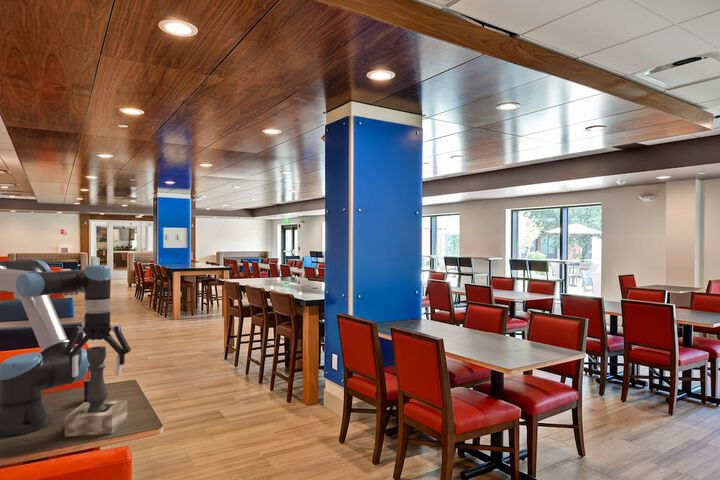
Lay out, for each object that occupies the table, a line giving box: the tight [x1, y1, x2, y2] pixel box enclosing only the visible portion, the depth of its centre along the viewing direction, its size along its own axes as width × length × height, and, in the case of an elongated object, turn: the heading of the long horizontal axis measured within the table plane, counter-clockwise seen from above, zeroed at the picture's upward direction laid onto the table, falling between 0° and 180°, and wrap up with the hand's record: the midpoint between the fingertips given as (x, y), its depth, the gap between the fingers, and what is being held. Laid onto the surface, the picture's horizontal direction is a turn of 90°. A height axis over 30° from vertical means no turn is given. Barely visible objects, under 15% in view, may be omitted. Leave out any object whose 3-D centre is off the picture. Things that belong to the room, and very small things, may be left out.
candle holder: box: [86, 345, 108, 413], centre depth 155 cm, size 6×6×25 cm
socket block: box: [64, 399, 128, 437], centre depth 155 cm, size 14×14×6 cm
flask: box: [83, 377, 90, 403], centre depth 180 cm, size 9×3×11 cm, turn 1°
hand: (97, 375), depth 155 cm, fingers open, 13 cm apart
